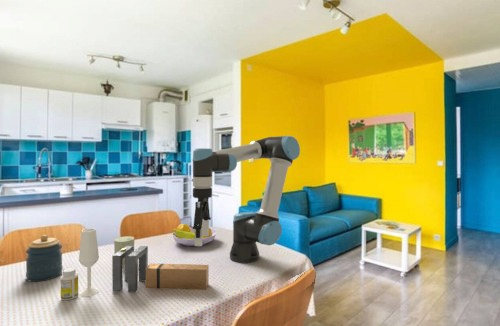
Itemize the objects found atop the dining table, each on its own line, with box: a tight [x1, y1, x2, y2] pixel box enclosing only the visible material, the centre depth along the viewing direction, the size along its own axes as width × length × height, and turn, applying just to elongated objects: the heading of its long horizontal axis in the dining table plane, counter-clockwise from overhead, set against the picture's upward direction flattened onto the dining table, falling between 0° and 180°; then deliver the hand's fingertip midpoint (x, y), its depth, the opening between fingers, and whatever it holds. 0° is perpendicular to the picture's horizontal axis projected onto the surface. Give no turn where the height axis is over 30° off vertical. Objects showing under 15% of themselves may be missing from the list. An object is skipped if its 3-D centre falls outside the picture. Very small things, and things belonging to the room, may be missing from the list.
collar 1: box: [111, 245, 135, 293], centre depth 118 cm, size 3×12×15 cm, turn 178°
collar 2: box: [127, 245, 149, 293], centre depth 117 cm, size 3×12×14 cm, turn 178°
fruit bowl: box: [171, 223, 218, 247], centre depth 174 cm, size 28×27×11 cm
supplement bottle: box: [59, 267, 79, 301], centre depth 107 cm, size 6×6×10 cm
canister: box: [25, 234, 63, 282], centre depth 126 cm, size 13×13×18 cm
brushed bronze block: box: [145, 263, 210, 291], centre depth 117 cm, size 24×5×8 cm, turn 88°
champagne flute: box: [78, 228, 100, 298], centre depth 111 cm, size 7×7×24 cm
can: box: [113, 235, 135, 267], centre depth 142 cm, size 9×9×12 cm
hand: (202, 240), depth 116 cm, fingers open, 13 cm apart
